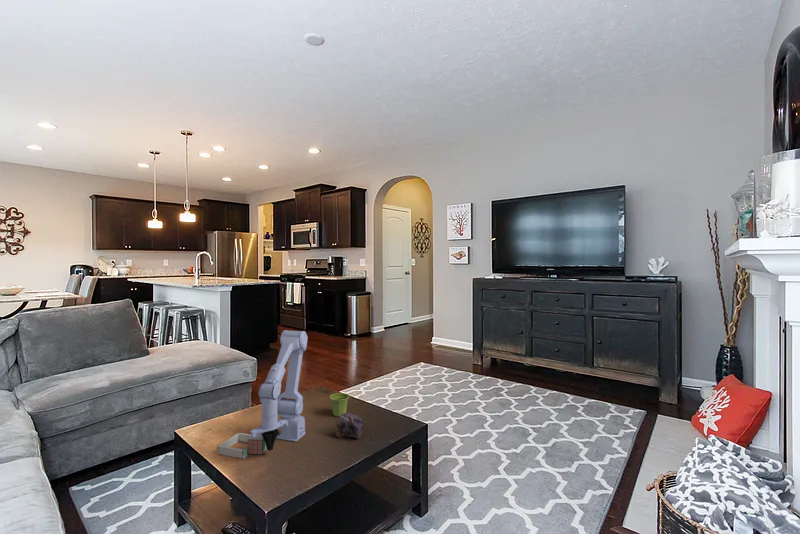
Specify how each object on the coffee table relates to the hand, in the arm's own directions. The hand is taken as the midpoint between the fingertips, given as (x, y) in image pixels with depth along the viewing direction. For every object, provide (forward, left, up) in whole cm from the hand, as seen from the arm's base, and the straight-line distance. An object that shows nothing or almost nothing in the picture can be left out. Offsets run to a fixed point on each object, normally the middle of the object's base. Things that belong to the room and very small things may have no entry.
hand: (269, 449), depth 152 cm
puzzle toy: (+6, -1, -2) cm, 6 cm away
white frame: (+13, 0, -2) cm, 13 cm away
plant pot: (-9, -43, -2) cm, 44 cm away
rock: (-23, -24, -2) cm, 33 cm away
